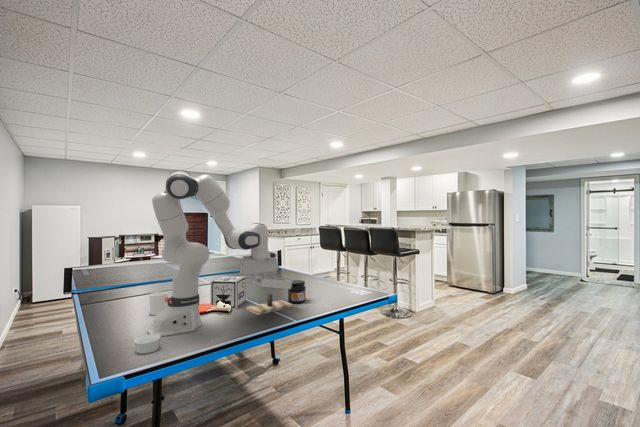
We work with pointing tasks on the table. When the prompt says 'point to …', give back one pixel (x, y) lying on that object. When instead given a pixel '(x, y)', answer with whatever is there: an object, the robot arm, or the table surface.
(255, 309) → the plate
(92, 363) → the table surface
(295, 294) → the supplement container
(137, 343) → the ramekin
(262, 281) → the silver rectangular frame
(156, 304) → the mug
